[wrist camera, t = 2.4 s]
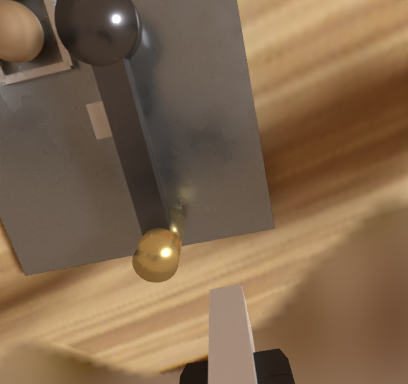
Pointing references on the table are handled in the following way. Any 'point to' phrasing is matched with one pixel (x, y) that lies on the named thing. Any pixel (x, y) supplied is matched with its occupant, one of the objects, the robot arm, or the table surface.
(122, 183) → the bench plate
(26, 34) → the tan wooden ball
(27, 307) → the table surface
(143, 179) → the lever
